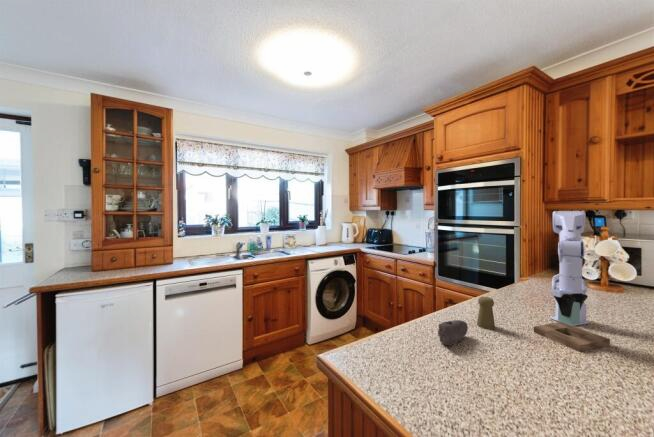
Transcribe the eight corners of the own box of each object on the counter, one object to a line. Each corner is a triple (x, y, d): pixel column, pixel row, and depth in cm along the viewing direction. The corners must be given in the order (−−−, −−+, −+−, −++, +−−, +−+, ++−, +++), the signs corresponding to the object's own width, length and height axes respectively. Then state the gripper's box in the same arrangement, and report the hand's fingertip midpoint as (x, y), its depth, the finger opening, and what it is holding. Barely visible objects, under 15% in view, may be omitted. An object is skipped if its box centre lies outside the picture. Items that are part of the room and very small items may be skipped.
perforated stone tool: (459, 332, 96) (460, 313, 95) (474, 338, 91) (474, 318, 91) (432, 343, 88) (432, 322, 88) (446, 350, 84) (446, 328, 83)
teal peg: (565, 319, 93) (565, 299, 93) (579, 323, 89) (579, 303, 89) (558, 320, 92) (558, 300, 92) (572, 325, 88) (572, 304, 88)
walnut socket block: (561, 327, 99) (561, 321, 99) (609, 345, 86) (610, 339, 86) (533, 332, 95) (533, 326, 95) (579, 351, 82) (579, 345, 82)
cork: (498, 330, 97) (498, 300, 97) (480, 328, 98) (480, 299, 98) (491, 323, 103) (491, 295, 103) (474, 322, 104) (474, 294, 104)
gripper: (569, 271, 96) (569, 308, 96) (543, 274, 91) (542, 313, 92) (594, 275, 89) (594, 315, 90) (567, 279, 85) (567, 321, 85)
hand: (569, 315), depth 90 cm, fingers closed on teal peg, 4 cm apart
